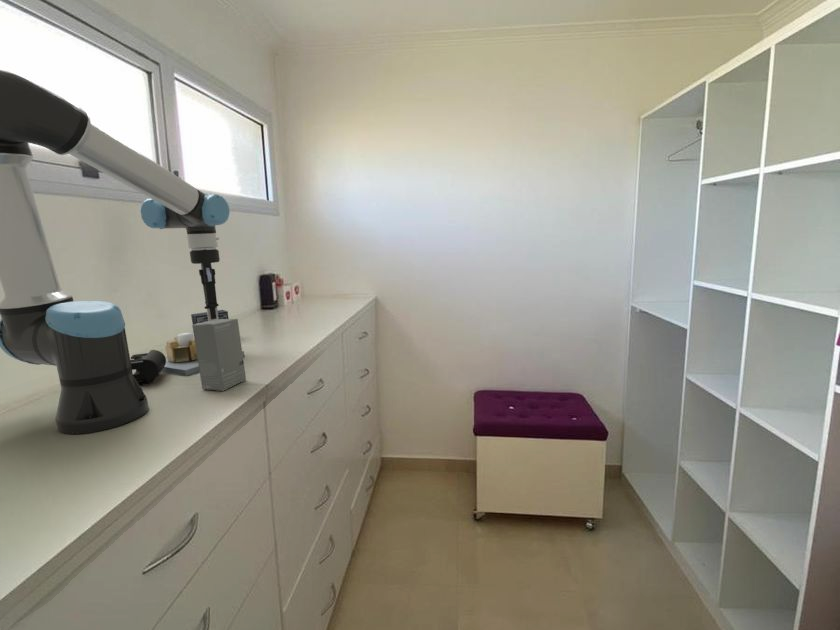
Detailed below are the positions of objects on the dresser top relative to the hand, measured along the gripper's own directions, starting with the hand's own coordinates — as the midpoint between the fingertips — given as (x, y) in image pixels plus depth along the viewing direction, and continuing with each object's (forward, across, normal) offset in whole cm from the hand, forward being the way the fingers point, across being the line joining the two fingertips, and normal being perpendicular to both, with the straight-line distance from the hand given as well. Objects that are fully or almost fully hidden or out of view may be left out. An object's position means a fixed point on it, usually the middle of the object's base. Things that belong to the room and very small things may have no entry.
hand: (214, 329), depth 130 cm
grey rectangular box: (+9, -30, +2) cm, 31 cm away
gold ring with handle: (+7, -3, +5) cm, 9 cm away
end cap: (+9, -13, +18) cm, 23 cm away
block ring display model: (+8, -3, +6) cm, 11 cm away
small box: (+9, +22, -1) cm, 24 cm away
